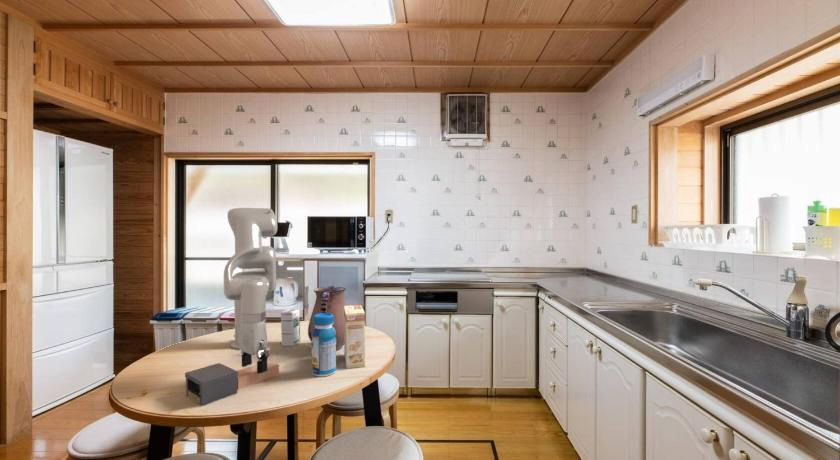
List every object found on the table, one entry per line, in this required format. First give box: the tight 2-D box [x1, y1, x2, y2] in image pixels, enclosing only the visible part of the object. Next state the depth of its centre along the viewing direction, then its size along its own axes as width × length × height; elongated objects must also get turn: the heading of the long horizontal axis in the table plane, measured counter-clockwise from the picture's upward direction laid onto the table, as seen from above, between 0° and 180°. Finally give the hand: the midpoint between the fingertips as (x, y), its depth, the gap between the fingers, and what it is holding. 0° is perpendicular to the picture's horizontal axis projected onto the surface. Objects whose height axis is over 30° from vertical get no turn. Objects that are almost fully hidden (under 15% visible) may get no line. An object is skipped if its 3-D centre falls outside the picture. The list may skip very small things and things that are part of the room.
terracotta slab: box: [237, 360, 280, 390], centre depth 123 cm, size 6×14×4 cm, turn 143°
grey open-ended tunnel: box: [184, 362, 238, 407], centre depth 113 cm, size 12×10×7 cm
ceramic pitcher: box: [307, 285, 347, 351], centre depth 153 cm, size 18×21×25 cm
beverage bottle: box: [310, 313, 337, 377], centre depth 129 cm, size 8×8×20 cm
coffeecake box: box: [343, 304, 366, 369], centre depth 140 cm, size 15×7×20 cm, turn 14°
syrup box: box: [280, 308, 301, 347], centre depth 161 cm, size 6×6×14 cm
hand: (254, 368), depth 124 cm, fingers open, 9 cm apart
